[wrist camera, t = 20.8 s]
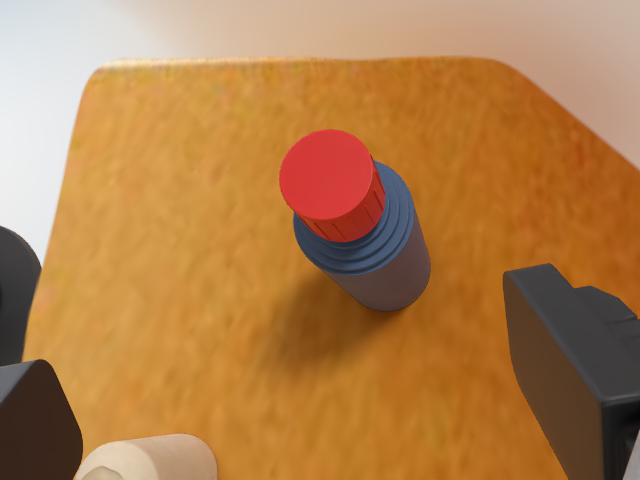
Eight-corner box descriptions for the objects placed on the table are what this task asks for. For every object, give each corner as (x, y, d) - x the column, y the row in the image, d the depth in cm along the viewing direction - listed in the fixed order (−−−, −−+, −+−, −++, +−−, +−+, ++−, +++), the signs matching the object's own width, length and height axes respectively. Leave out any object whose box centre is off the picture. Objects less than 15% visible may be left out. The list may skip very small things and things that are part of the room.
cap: (297, 241, 28) (272, 218, 25) (307, 160, 29) (284, 128, 26) (382, 245, 27) (369, 222, 24) (389, 162, 28) (377, 128, 25)
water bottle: (338, 307, 43) (248, 245, 25) (347, 223, 44) (267, 109, 27) (427, 314, 41) (395, 254, 24) (433, 227, 42) (408, 109, 25)
